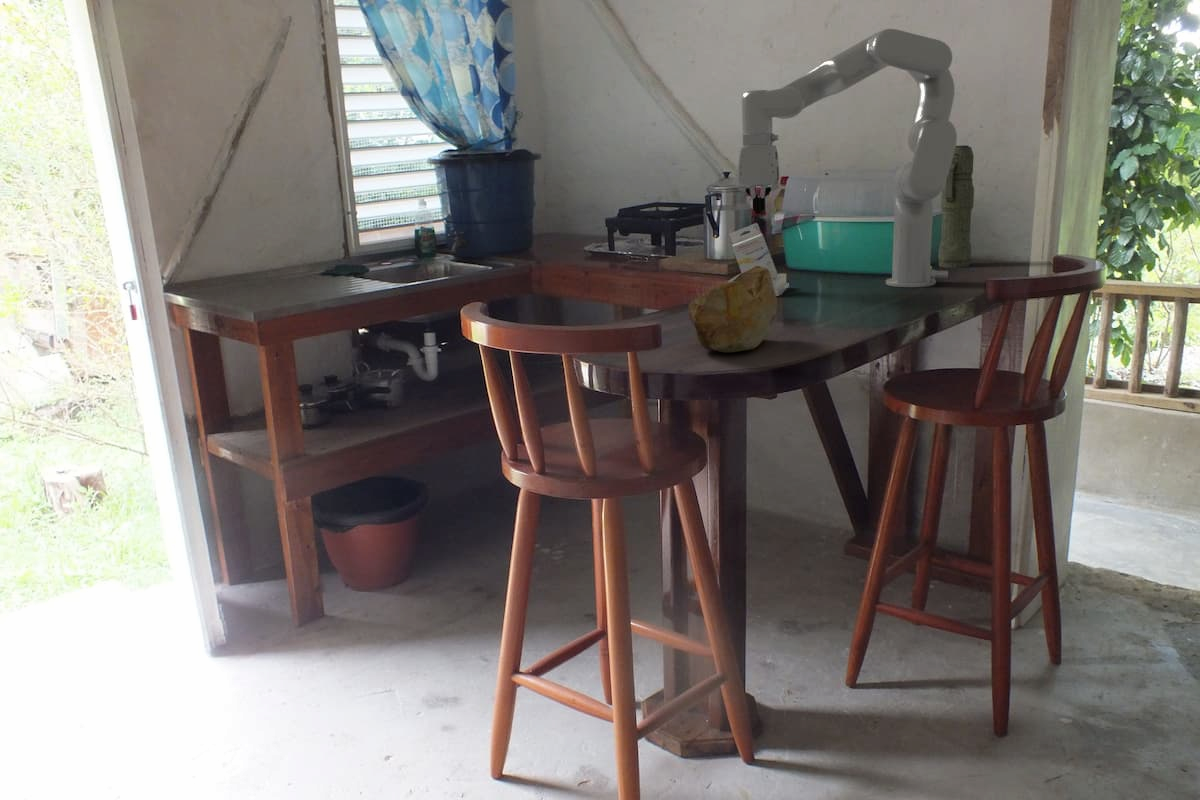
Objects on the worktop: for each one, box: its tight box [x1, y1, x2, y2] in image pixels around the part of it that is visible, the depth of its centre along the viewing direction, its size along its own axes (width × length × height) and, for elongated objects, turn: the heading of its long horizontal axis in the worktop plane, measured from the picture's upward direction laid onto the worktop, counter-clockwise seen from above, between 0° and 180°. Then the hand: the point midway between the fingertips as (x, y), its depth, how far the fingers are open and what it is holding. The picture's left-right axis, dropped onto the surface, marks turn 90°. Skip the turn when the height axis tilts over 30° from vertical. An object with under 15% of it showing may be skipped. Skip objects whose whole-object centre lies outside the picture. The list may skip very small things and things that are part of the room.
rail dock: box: [727, 272, 790, 297], centre depth 256 cm, size 14×15×4 cm
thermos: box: [937, 145, 975, 269], centre depth 279 cm, size 9×12×35 cm
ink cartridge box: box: [729, 222, 778, 278], centre depth 254 cm, size 9×5×15 cm, turn 80°
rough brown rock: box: [688, 266, 778, 353], centre depth 191 cm, size 23×17×15 cm
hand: (759, 213), depth 251 cm, fingers closed
